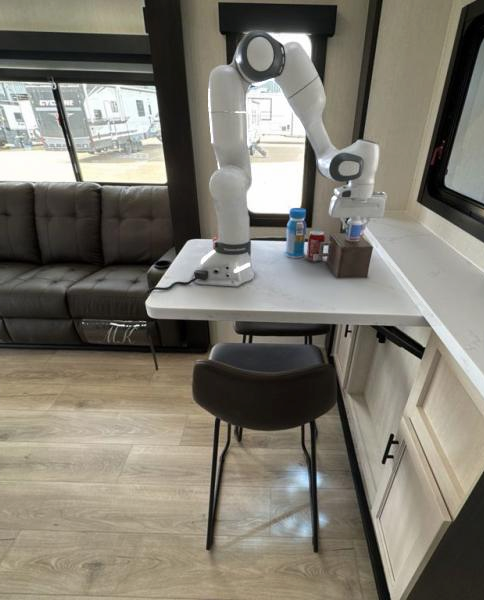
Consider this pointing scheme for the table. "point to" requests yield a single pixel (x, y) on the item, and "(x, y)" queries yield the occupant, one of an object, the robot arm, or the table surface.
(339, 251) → the cupboard door
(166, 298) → the table surface
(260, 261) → the table surface
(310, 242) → the soda can
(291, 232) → the beverage bottle
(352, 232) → the pill bottle
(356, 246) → the cupboard
